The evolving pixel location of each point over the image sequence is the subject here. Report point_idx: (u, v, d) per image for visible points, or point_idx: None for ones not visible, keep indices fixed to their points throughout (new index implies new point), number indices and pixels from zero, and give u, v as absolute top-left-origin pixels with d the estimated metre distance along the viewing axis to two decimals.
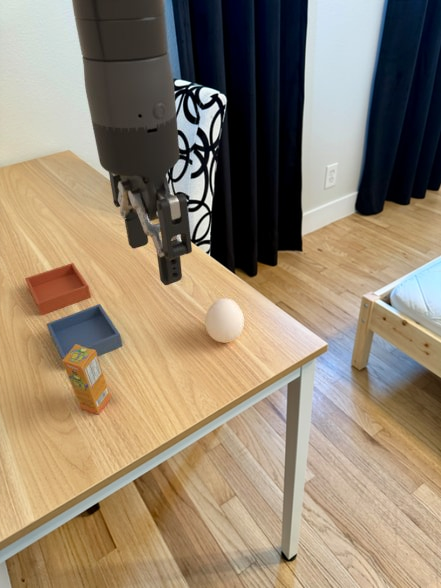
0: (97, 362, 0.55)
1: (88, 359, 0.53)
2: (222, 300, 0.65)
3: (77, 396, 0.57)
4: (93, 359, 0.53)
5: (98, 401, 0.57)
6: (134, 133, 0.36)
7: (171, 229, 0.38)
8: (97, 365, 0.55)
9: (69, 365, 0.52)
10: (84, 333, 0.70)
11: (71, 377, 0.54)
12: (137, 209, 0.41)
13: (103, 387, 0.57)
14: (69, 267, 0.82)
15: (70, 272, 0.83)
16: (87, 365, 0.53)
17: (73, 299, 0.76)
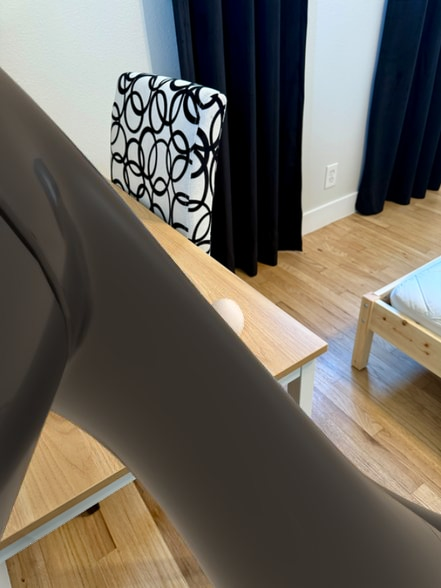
0: None
1: None
2: (222, 300, 0.65)
3: None
4: None
5: None
6: None
7: None
8: None
9: None
10: None
11: None
12: None
13: None
14: None
15: None
16: None
17: None
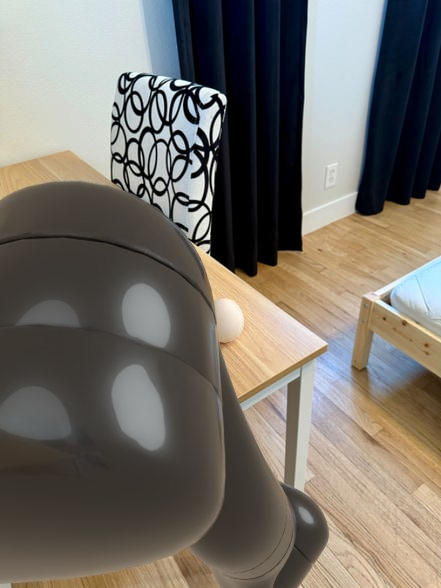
0: None
1: None
2: (222, 300, 0.65)
3: None
4: None
5: None
6: None
7: None
8: None
9: None
10: None
11: None
12: None
13: None
14: None
15: None
16: None
17: None
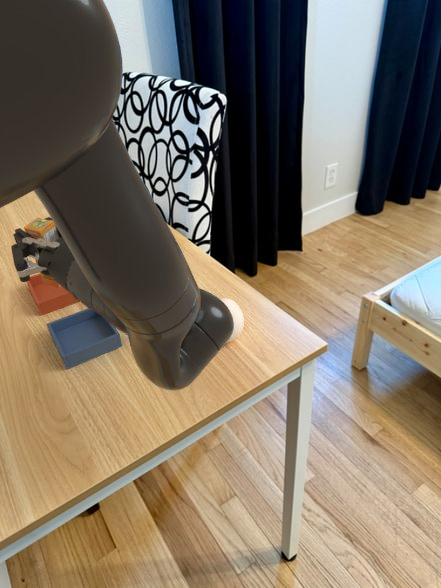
0: (56, 233, 0.61)
1: (47, 226, 0.59)
2: (222, 300, 0.65)
3: None
4: (51, 228, 0.60)
5: None
6: (65, 274, 0.50)
7: None
8: (57, 236, 0.61)
9: (30, 231, 0.59)
10: (84, 333, 0.70)
11: None
12: (49, 243, 0.56)
13: None
14: None
15: None
16: (46, 231, 0.59)
17: (73, 299, 0.76)
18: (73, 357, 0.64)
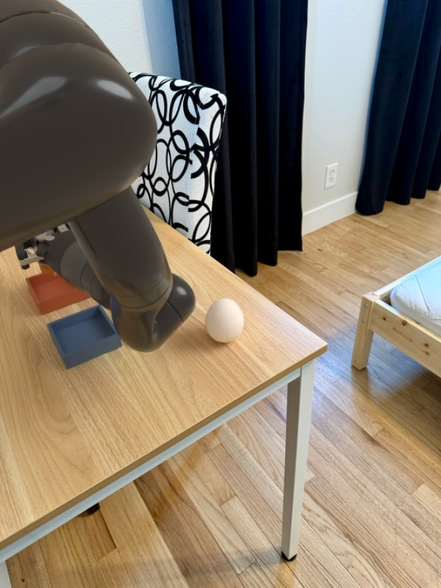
0: (52, 229, 0.71)
1: None
2: (222, 300, 0.65)
3: None
4: None
5: None
6: (59, 262, 0.61)
7: None
8: (52, 232, 0.72)
9: None
10: (84, 333, 0.70)
11: None
12: (45, 237, 0.66)
13: None
14: None
15: None
16: None
17: (73, 299, 0.76)
18: (73, 357, 0.64)
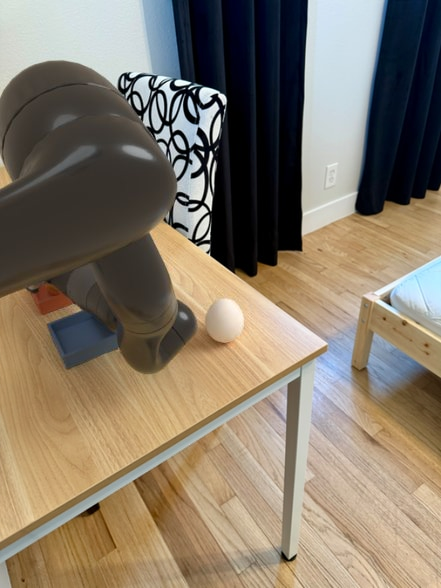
0: None
1: None
2: (222, 300, 0.65)
3: None
4: None
5: None
6: (65, 284, 0.63)
7: None
8: None
9: None
10: (84, 333, 0.70)
11: None
12: None
13: None
14: None
15: None
16: None
17: None
18: (73, 357, 0.64)
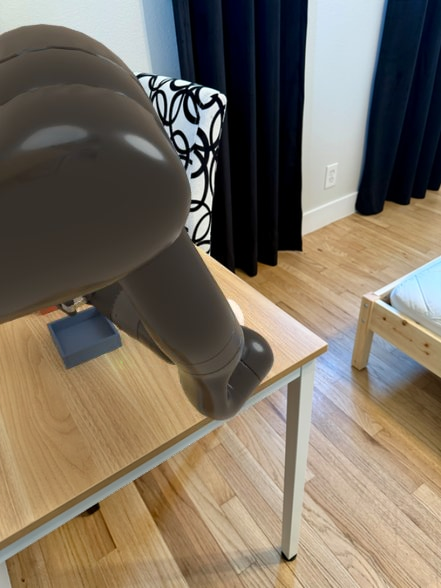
0: None
1: None
2: None
3: None
4: None
5: None
6: (110, 306, 0.54)
7: None
8: None
9: None
10: (84, 333, 0.70)
11: None
12: None
13: None
14: None
15: None
16: None
17: None
18: (73, 357, 0.64)
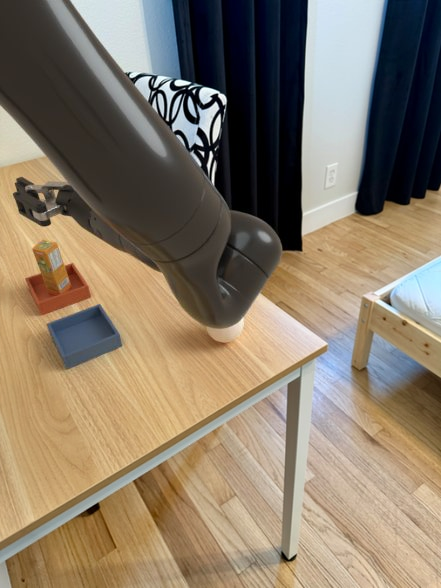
0: (58, 253, 0.74)
1: (51, 247, 0.72)
2: None
3: (45, 281, 0.76)
4: (54, 249, 0.73)
5: (60, 285, 0.77)
6: (88, 209, 0.46)
7: (26, 206, 0.48)
8: (59, 255, 0.74)
9: (37, 251, 0.72)
10: (84, 333, 0.70)
11: (39, 263, 0.74)
12: (64, 183, 0.50)
13: (64, 275, 0.77)
14: (69, 267, 0.82)
15: (70, 272, 0.83)
16: (50, 252, 0.72)
17: (73, 299, 0.76)
18: (73, 357, 0.64)
